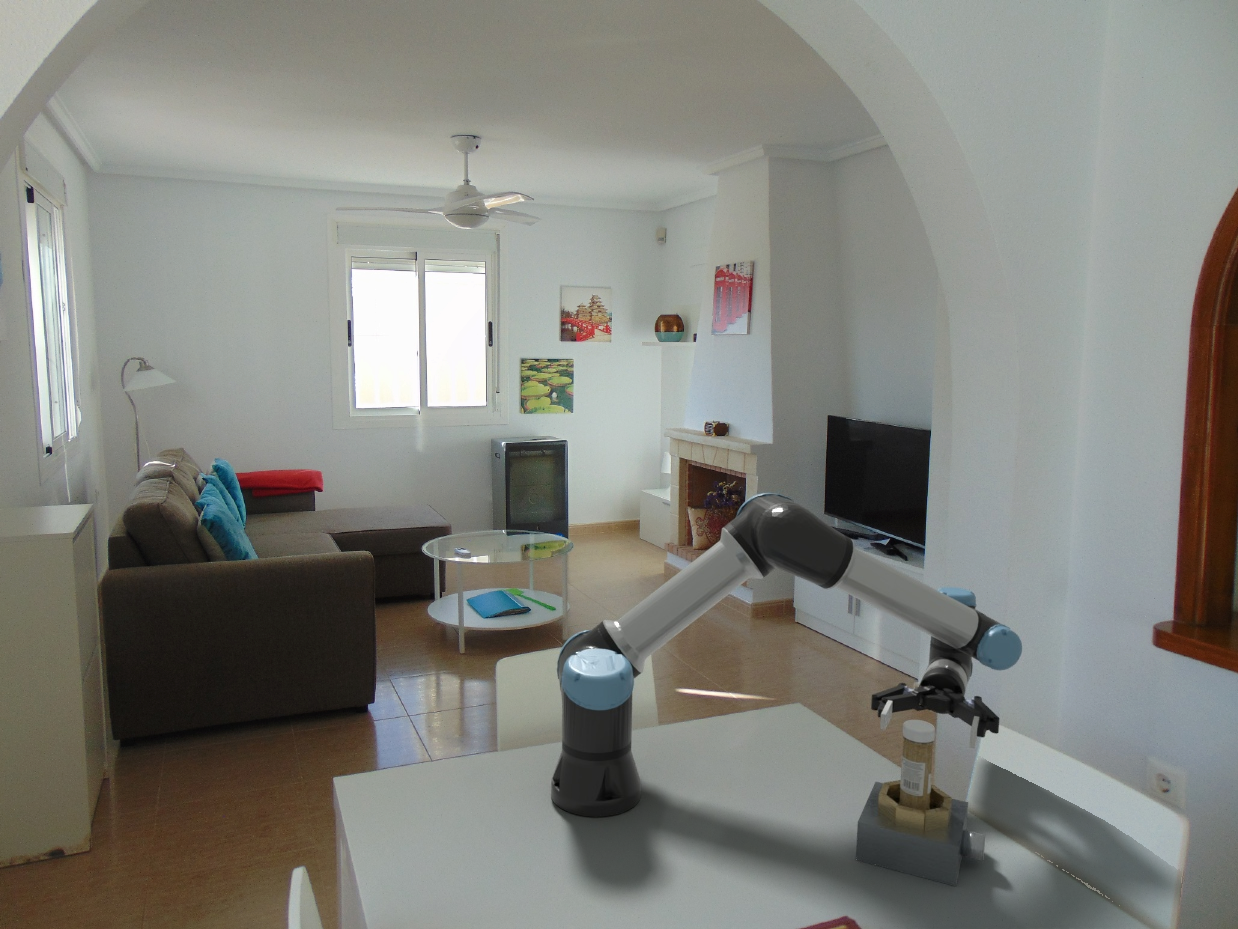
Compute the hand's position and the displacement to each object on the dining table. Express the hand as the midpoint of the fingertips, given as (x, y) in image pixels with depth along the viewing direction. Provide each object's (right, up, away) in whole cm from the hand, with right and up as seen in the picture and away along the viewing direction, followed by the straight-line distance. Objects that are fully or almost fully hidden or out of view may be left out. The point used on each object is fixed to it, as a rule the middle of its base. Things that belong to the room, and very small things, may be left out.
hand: (926, 730), depth 141 cm
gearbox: (-3, -16, -7) cm, 18 cm away
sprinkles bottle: (-4, -10, -7) cm, 13 cm away
